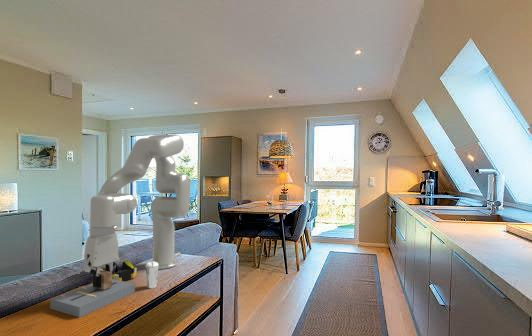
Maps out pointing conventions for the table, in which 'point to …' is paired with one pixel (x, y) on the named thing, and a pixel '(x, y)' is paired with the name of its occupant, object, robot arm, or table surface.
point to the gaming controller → (125, 272)
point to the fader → (105, 279)
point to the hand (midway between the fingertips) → (102, 284)
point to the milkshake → (151, 274)
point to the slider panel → (90, 298)
